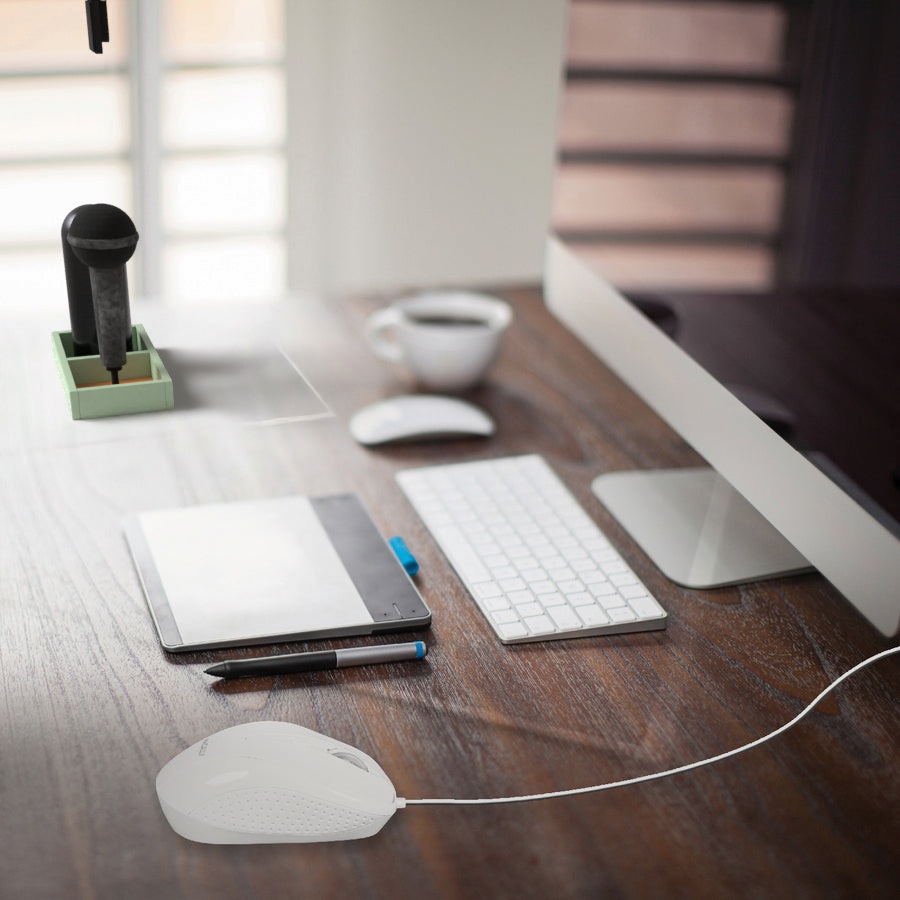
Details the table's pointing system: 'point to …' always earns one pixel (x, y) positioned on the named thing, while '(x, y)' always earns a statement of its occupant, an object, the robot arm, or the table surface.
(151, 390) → the mic rack
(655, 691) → the table surface
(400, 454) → the table surface
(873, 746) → the table surface
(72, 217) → the black domed cylinder
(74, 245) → the microphone
